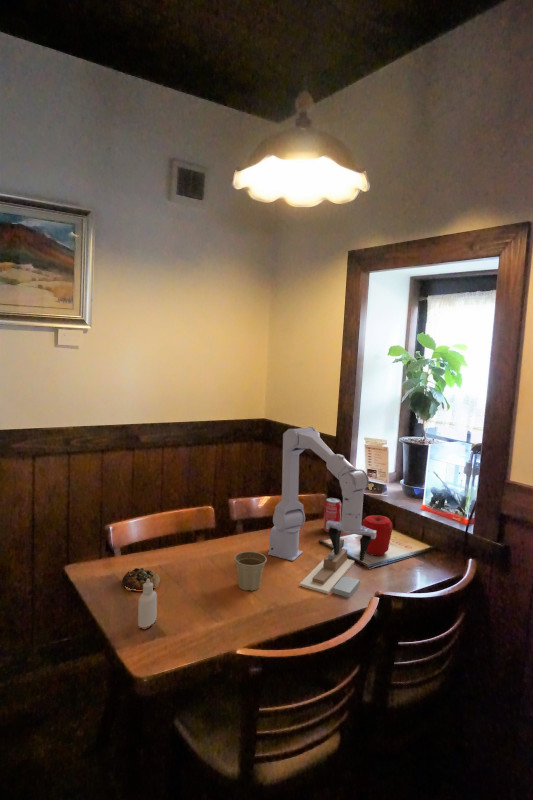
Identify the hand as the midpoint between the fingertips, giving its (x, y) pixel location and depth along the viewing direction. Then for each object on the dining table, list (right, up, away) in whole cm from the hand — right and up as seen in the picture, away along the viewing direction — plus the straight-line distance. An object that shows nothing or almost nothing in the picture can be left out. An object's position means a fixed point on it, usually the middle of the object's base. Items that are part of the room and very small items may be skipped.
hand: (349, 556), depth 155 cm
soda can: (+1, -4, +47) cm, 47 cm away
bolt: (-2, -4, +14) cm, 15 cm away
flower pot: (-29, -9, 0) cm, 30 cm away
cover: (-1, -10, +1) cm, 10 cm away
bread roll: (-60, -8, -1) cm, 61 cm away
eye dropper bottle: (-54, -11, -22) cm, 59 cm away
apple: (+13, -7, +28) cm, 32 cm away
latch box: (-5, -8, +10) cm, 14 cm away
